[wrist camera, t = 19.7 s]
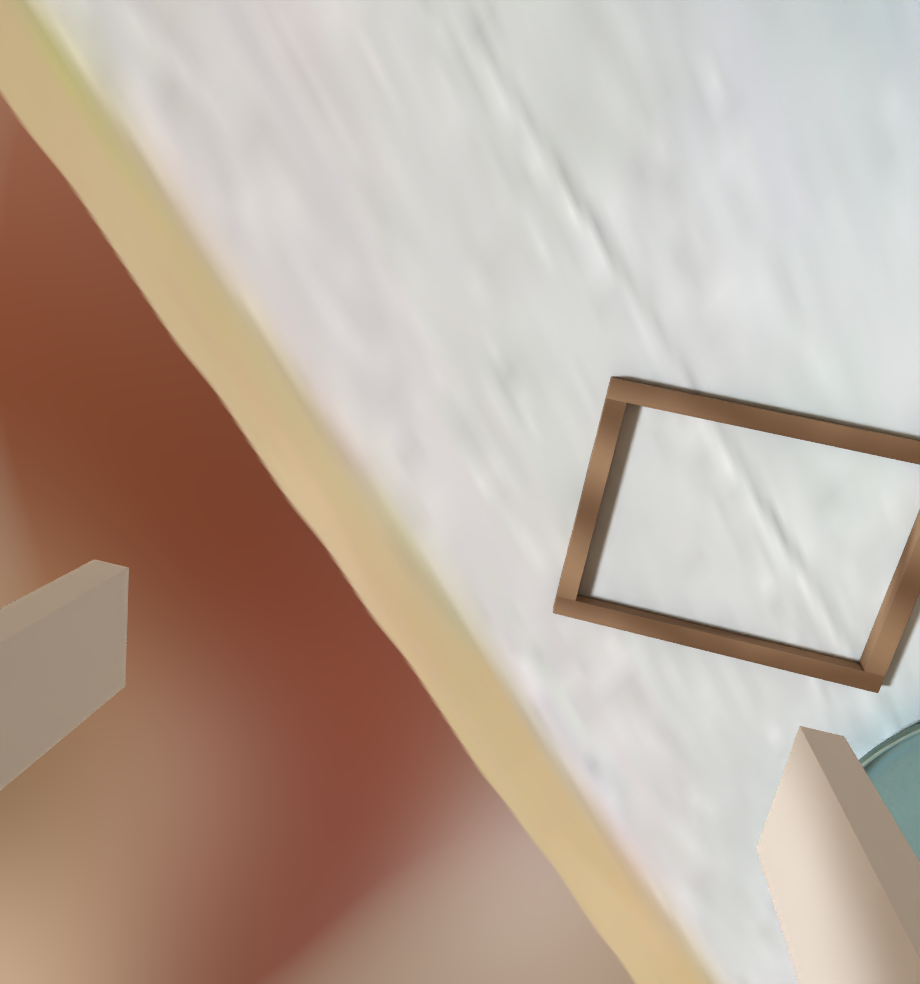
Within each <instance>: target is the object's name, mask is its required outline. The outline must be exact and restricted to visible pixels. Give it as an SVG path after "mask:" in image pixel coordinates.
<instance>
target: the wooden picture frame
mask: <svg viewBox="0 0 920 984" xmlns="http://www.w3.org/2000/svg"><path fill="white" fill-rule="evenodd" d="M627 403H631V404H636V405H640V406H645V407H650V408H654V409H659V410H664V411H669V412H673V413H678V414H683V415H688V416H692V417H697V418H702V419H707V420H711V421H716V422H721V423H725V424H730V425H735V426H740V427H744V428H749V429H754V430H759V431H763V432H768V433H773V434H778V435H782V436H787V437H792V438H797V439H801V440H806V441H811V442H815V443H820V444H825V445H830V446H834V447H839V448H844V449H849V450H853V451H858V452H863V453H868V454H872V455H877V456H882V457H886V458H891V459H896V460H901V461H905V462H910V463H915V464H920V441H918V440H913V439H908V438H904V437H899V436H894V435H889V434H884V433H879V432H875V431H870V430H865V429H860V428H855V427H851V426H846V425H841V424H836V423H831V422H827V421H822V420H817V419H812V418H807V417H802V416H798V415H793V414H788V413H783V412H778V411H774V410H769V409H764V408H759V407H754V406H749V405H745V404H740V403H735V402H730V401H725V400H721V399H716V398H711V397H706V396H701V395H697V394H692V393H687V392H682V391H677V390H672V389H668V388H663V387H658V386H653V385H648V384H644V383H639V382H634V381H629V380H624V379H620V378H615V377H611V379H610V383H609V387H608V391H607V395H606V399H605V403H604V407H603V411H602V415H601V419H600V423H599V427H598V431H597V435H596V439H595V443H594V447H593V450H592V454H591V458H590V462H589V466H588V470H587V474H586V478H585V482H584V486H583V490H582V494H581V498H580V502H579V506H578V510H577V514H576V518H575V522H574V526H573V530H572V534H571V538H570V542H569V546H568V550H567V554H566V558H565V562H564V566H563V570H562V574H561V578H560V582H559V586H558V590H557V594H556V598H555V602H554V606H553V613H555V614H559V615H563V616H567V617H571V618H575V619H579V620H583V621H588V622H592V623H596V624H600V625H604V626H608V627H612V628H616V629H620V630H624V631H628V632H632V633H636V634H640V635H644V636H648V637H652V638H657V639H661V640H665V641H669V642H673V643H677V644H681V645H685V646H689V647H693V648H697V649H701V650H705V651H709V652H713V653H717V654H721V655H725V656H730V657H734V658H738V659H742V660H746V661H750V662H754V663H758V664H762V665H766V666H770V667H774V668H778V669H782V670H786V671H790V672H794V673H799V674H803V675H807V676H811V677H815V678H819V679H823V680H827V681H831V682H835V683H839V684H843V685H847V686H851V687H855V688H859V689H863V690H867V691H872V692H876V693H878V692H879V690H880V687H881V685H882V682H883V680H884V677H885V675H886V673H887V670H888V668H889V665H890V663H891V661H892V658H893V656H894V653H895V651H896V648H897V646H898V644H899V641H900V639H901V636H902V634H903V631H904V629H905V627H906V624H907V622H908V619H909V617H910V614H911V612H912V610H913V607H914V605H915V602H916V600H917V598H918V595H919V593H920V510H919V513H918V515H917V518H916V520H915V523H914V525H913V528H912V530H911V533H910V535H909V538H908V540H907V543H906V545H905V548H904V551H903V553H902V556H901V558H900V561H899V563H898V566H897V568H896V571H895V573H894V576H893V578H892V581H891V583H890V586H889V588H888V591H887V593H886V596H885V598H884V601H883V603H882V606H881V608H880V611H879V613H878V616H877V618H876V621H875V623H874V626H873V628H872V631H871V633H870V636H869V638H868V641H867V644H866V646H865V649H864V651H863V654H862V656H861V659H860V661H859V663H855V662H851V661H847V660H843V659H839V658H834V657H830V656H826V655H822V654H818V653H814V652H810V651H806V650H801V649H797V648H793V647H789V646H785V645H781V644H777V643H773V642H768V641H764V640H760V639H756V638H752V637H748V636H744V635H740V634H736V633H731V632H727V631H723V630H719V629H715V628H711V627H707V626H703V625H698V624H694V623H690V622H686V621H682V620H678V619H674V618H670V617H666V616H661V615H657V614H653V613H649V612H645V611H641V610H637V609H633V608H628V607H624V606H620V605H616V604H612V603H608V602H604V601H600V600H595V599H591V598H587V597H583V596H579V595H577V593H578V589H579V585H580V581H581V577H582V574H583V570H584V566H585V562H586V558H587V554H588V551H589V547H590V543H591V539H592V535H593V531H594V527H595V524H596V520H597V516H598V512H599V508H600V504H601V500H602V497H603V493H604V489H605V485H606V481H607V477H608V473H609V470H610V466H611V462H612V458H613V454H614V450H615V446H616V443H617V439H618V435H619V431H620V427H621V423H622V419H623V416H624V412H625V408H626V404H627Z"/></svg>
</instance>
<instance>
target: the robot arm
mask: <svg viewBox="0 0 920 984" xmlns="http://www.w3.org/2000/svg"><path fill="white" fill-rule="evenodd" d="M128 576H129V568H128V567H124V566H120V565H115V564H111V563H107V562H103V561H98V560H92V561H90V562H88V563H86V564H85V565H83V566H81V567H79V568H77V569H75V570H73V571H71V572H69V573H67V574H66V575H64V576H62V577H60V578H58V579H56V580H54V581H52V582H50V583H48V584H46V585H45V586H43V587H41V588H39V589H37V590H35V591H33V592H31V593H29V594H27V595H26V596H24V597H22V598H20V599H18V600H16V601H14V602H12V603H10V604H8V605H6V606H4V607H3V608H1V609H0V790H2V789H3V788H4V787H5V786H6V785H7V784H8V783H10V782H11V781H12V780H14V779H15V778H16V777H17V776H18V775H20V774H21V773H22V772H23V771H24V770H26V768H28V767H29V766H30V765H31V764H33V763H34V762H35V761H36V760H37V759H39V758H40V757H41V756H42V755H43V754H45V753H46V752H47V751H48V750H49V749H50V748H52V747H53V746H54V745H55V744H57V743H58V742H59V741H60V740H61V739H62V738H64V737H65V736H66V735H67V734H68V733H70V732H71V731H72V730H73V729H75V728H76V727H77V726H78V725H79V724H81V723H82V722H83V721H84V720H85V719H86V718H88V717H89V716H90V715H91V714H92V713H94V712H95V711H96V710H97V709H98V708H99V707H101V706H102V705H103V704H104V703H106V701H108V700H109V699H110V698H112V697H113V696H114V695H115V694H116V693H118V691H120V690H121V689H122V688H123V687H125V671H126V640H127V637H126V636H127V607H128ZM756 850H757V853H758V856H759V860H760V863H761V866H762V869H763V872H764V875H765V878H766V882H767V885H768V888H769V891H770V894H771V897H772V900H773V904H774V907H775V910H776V913H777V916H778V919H779V923H780V926H781V929H782V932H783V935H784V938H785V941H786V945H787V948H788V951H789V954H790V957H791V960H792V964H793V967H794V970H795V973H796V976H797V979H798V982H799V984H920V861H919V860H918V858H917V857H916V855H915V853H914V852H913V850H912V848H911V847H910V845H909V843H908V842H907V840H906V838H905V837H904V835H903V833H902V832H901V830H900V828H899V827H898V825H897V823H896V822H895V820H894V818H893V817H892V815H891V813H890V812H889V810H888V808H887V807H886V805H885V803H884V802H883V800H882V798H881V797H880V795H879V793H878V792H877V790H876V788H875V787H874V785H873V784H872V782H871V780H870V779H869V777H868V775H867V774H866V772H865V770H864V769H863V767H862V765H861V764H860V762H859V760H858V759H857V757H856V755H855V754H854V752H853V750H852V749H851V747H850V745H849V744H848V742H847V740H846V739H845V737H844V736H840V735H836V734H832V733H827V732H823V731H819V730H815V729H810V728H806V727H802V726H800V727H799V730H798V733H797V736H796V738H795V741H794V744H793V747H792V750H791V752H790V755H789V758H788V761H787V764H786V766H785V769H784V772H783V775H782V778H781V780H780V783H779V786H778V789H777V792H776V794H775V797H774V800H773V803H772V806H771V809H770V811H769V814H768V817H767V820H766V823H765V825H764V828H763V831H762V834H761V837H760V839H759V842H758V845H757V848H756Z"/></svg>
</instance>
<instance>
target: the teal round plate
mask: <svg viewBox="0 0 920 984" xmlns="http://www.w3.org/2000/svg"><path fill="white" fill-rule="evenodd" d="M859 762H860V764H861V765H862V767H863V769H864V770H865V772H866V774H867V775H868V777H869V779H870V780H871V782H872V784H873V785H874V787H875V788H876V790H877V792H878V793H879V795H880V797H881V798H882V800H883V802H884V803H885V805H886V807H887V808H888V810H889V812H890V813H891V815H892V817H893V818H894V820H895V822H896V823H897V825H898V827H899V828H900V830H901V832H902V833H903V835H904V837H905V838H906V840H907V842H908V843H909V845H910V847H911V848H912V850H913V852H914V853H915V855H916V857H917V858H918V860H919V861H920V723H919V724H916V725H914V726H912V727H909V728H907V729H905V730H903V731H901V732H899V733H898V734H896V735H894V736H892V737H890V738H889V739H887V740H886V741H884V742H882V743H881V744H879V745H878V746H876V747H875V748H873V749H872V750H871V751H869V752H868V753H867V754H866V755H864V756H863V757H862V758H861V759H860V760H859Z"/></svg>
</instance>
